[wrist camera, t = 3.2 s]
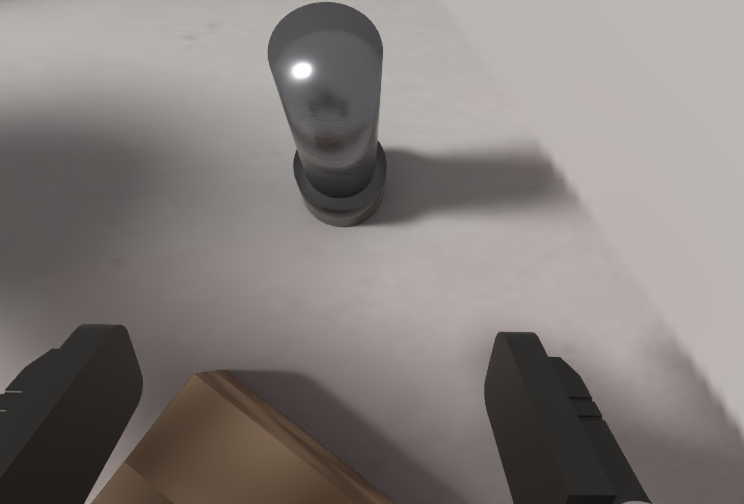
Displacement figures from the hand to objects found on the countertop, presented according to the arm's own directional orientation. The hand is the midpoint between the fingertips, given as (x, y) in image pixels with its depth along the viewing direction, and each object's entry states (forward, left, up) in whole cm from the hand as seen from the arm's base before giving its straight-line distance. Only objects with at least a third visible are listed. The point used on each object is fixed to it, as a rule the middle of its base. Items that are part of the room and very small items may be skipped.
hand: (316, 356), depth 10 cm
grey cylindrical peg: (-5, +7, -12) cm, 15 cm away
